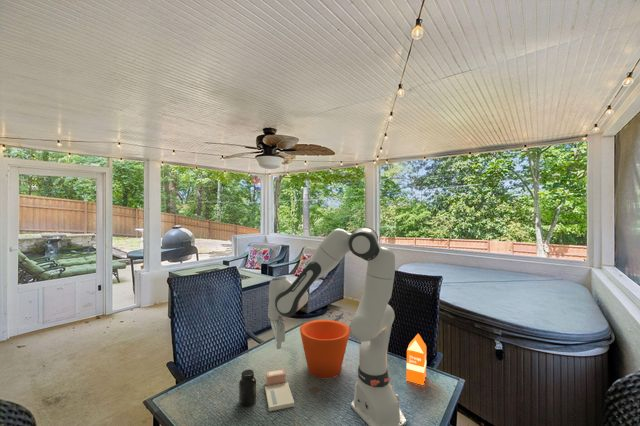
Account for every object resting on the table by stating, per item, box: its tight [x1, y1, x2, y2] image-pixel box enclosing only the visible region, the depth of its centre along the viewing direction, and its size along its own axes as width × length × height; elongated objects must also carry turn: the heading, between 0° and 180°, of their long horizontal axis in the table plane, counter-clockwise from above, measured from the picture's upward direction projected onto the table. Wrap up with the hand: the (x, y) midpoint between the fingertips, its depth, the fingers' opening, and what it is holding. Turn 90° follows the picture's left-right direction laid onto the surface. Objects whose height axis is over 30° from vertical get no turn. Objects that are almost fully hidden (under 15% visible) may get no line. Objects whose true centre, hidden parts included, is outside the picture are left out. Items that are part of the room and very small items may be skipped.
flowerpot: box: [299, 319, 351, 380], centre depth 137 cm, size 25×25×20 cm
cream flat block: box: [264, 381, 295, 412], centre depth 115 cm, size 14×10×2 cm
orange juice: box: [406, 333, 427, 386], centre depth 130 cm, size 8×9×20 cm
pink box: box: [265, 369, 286, 386], centre depth 124 cm, size 4×8×5 cm, turn 108°
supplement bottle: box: [238, 369, 257, 408], centre depth 112 cm, size 7×7×12 cm
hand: (277, 343), depth 125 cm, fingers open, 8 cm apart
